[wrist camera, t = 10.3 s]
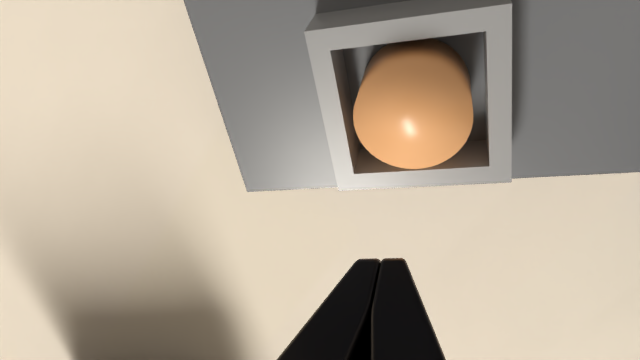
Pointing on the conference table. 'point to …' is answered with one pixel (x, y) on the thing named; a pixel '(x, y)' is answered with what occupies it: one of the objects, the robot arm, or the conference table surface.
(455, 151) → the orange button
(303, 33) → the control panel
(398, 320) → the robot arm
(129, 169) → the conference table surface
